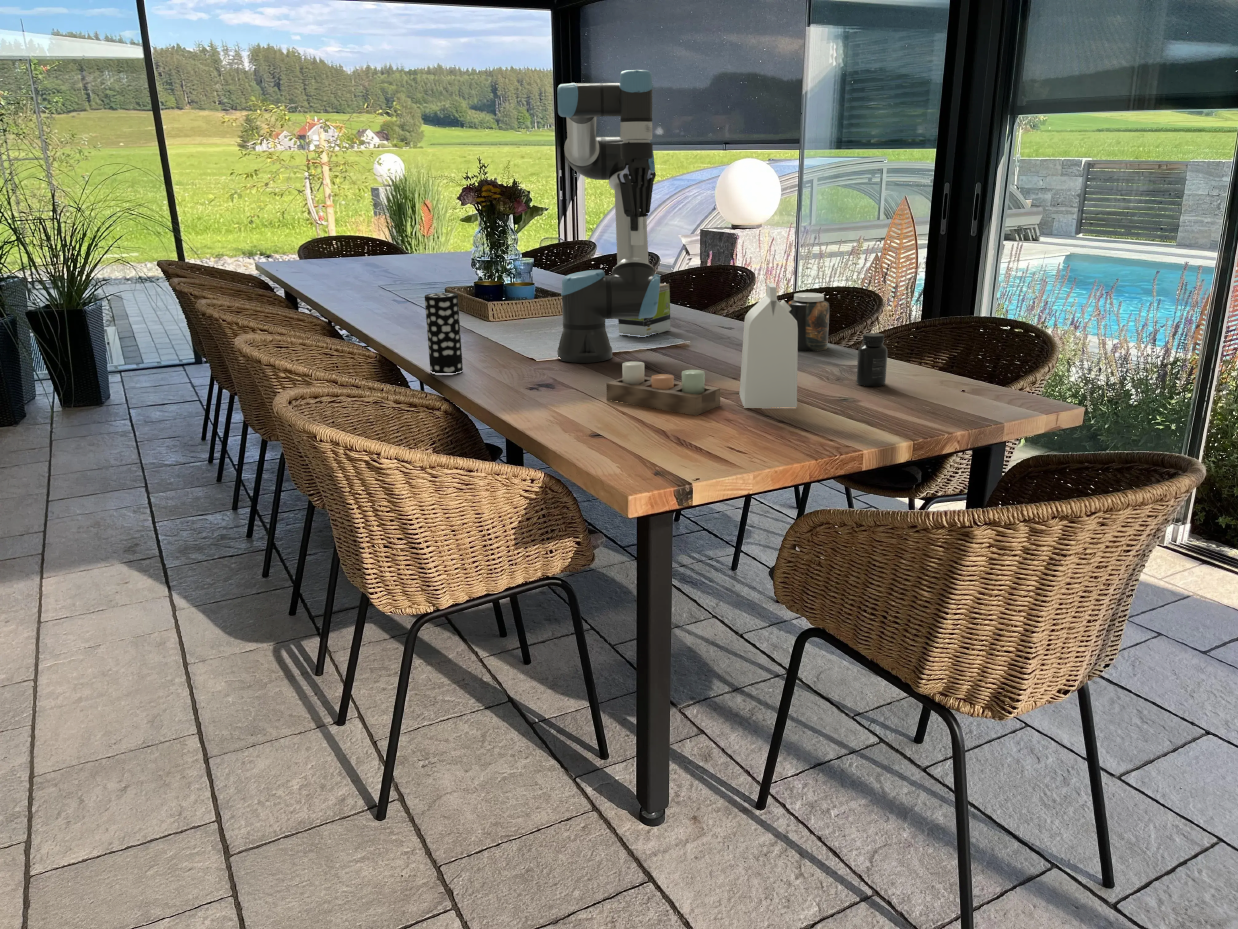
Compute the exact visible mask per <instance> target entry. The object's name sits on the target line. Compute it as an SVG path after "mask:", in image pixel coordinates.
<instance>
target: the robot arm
mask: <svg viewBox="0 0 1238 929" xmlns="http://www.w3.org/2000/svg"><path fill="white" fill-rule="evenodd" d="M653 88H654V83H653V73H652V72H651V71H650V70H647V69H629V70H623V71H621V72H620V75H619V82H600V83H599V82H596V83H595V82H594V83H593V82H590V83H589V82H585V83H584V82H578V83H577V82H576V83H575V82H571V83H560V84H559V85H558V87H557V89H556V90H557V92H556V93H557V95H556V96H557V113H558V115H559V116H560V117H562V118H566V132H567V133H566V137H567V138H566V140H565V143H564V146H563V147H564V148H563V150H564V157H565V159H566V161H567V164H569V166H570V167H571V169H573V170H574V171H576V173H578V174H579V175H580V176H583V177H585V178H587V179H589V180H595V181H596V180H597V181H608V185H609V187H610V188H611V189H612V190H613V191H614V208H615V211H614V212H615V213H614V214H615V235H616V259H617V261H616V263H617V264H616V265H615V266H614V267H613V268H612V270H611V275H606V273H605V271H604V270H603V269H590V270H583V271H578V272H574V273H570V274H567V275H565V276H563V278H562V280H561V293H560V295H561V302H562V306H561V308H562V311H561V312H562V332H561V335H560V336H561V337H560V341H559V343H558V347H557V350H556V351H557V352H556V353H557V354H556V355H558V357H560V358H561V359H560V360H559V361H562V362H565V363H575V364H578V363H579V364H585V363H586V364H587V363H589V364H590V363H597V362H604V361H607V360H608V361H609V360H610V359H612V358H613V347H612V346H611V342H610V339H609V336H608V333H607V329H606V320H618V319H641V318H651V317H654V316H655V315H656V313H657V307H658V298H659V289H660V284H661V275H660V274H657V273H655V268H654V266H653V265H652V264H651V263H649V245H648V243H649V242H648V223H647V222H648V220H647V217H648V216H649V213H650V211H651V206H652V198H653V190H654V182H655V180H656V177H657V176H656V175H657V173H656V164H655V155H654V149H653V148H654V144H653V143H652V142H651V140H653ZM597 117H598V118H599V117H620V122H619V123H620V124H619V125H620V126H619V136H597ZM558 357H557V358H558Z"/></svg>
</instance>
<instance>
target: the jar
mask: <svg viewBox="0 0 1238 929" xmlns="http://www.w3.org/2000/svg"><path fill="white" fill-rule="evenodd" d="M787 304H788V305H789V307H790V308H791V310H790V311H789V313H790V314H791V315H792V316H793V317H794V318H795V320H796V321H797V326H798V351H799V352H820V351H825V350H827V349H828V343H829V327H830V326H829V324H830V303H829V302H828V301H826V300H825V294H823V293H819V292H818V293H817V292H798V293H797V292H796V293H794V294H793V299H792V300H790V301H788V303H787Z"/></svg>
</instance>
